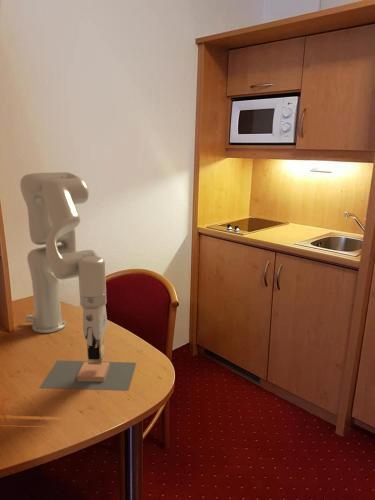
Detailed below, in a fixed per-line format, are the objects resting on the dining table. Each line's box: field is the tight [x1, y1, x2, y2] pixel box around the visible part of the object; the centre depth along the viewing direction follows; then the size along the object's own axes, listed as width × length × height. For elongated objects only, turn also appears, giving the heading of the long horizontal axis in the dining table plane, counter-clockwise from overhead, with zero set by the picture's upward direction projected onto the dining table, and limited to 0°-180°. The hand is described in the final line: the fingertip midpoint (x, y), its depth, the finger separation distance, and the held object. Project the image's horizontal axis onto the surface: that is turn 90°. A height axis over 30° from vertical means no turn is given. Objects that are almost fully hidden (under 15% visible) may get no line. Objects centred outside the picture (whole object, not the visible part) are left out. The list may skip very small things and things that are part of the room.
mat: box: [39, 359, 137, 391], centre depth 123 cm, size 26×15×1 cm, turn 88°
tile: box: [77, 361, 110, 382], centre depth 123 cm, size 2×8×8 cm
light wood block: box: [86, 333, 105, 365], centre depth 120 cm, size 4×4×11 cm
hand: (96, 354), depth 121 cm, fingers closed on light wood block, 4 cm apart
